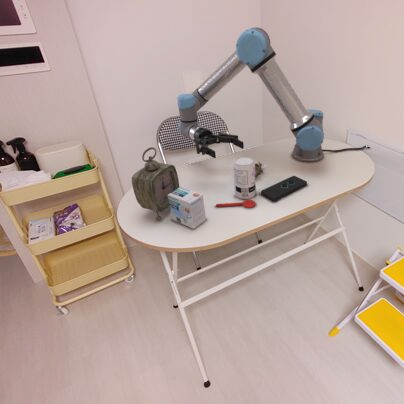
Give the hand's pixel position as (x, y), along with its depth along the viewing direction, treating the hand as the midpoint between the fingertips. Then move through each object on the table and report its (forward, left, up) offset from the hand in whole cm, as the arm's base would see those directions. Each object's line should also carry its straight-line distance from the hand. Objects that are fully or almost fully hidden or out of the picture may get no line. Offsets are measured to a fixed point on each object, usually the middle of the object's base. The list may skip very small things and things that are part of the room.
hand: (229, 150), depth 120 cm
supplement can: (-6, +8, -17) cm, 19 cm away
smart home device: (-22, +6, -17) cm, 28 cm away
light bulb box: (+15, +23, -17) cm, 32 cm away
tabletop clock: (+26, +16, -17) cm, 35 cm away
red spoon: (-1, +15, -16) cm, 23 cm away
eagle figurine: (-11, -8, -17) cm, 21 cm away
